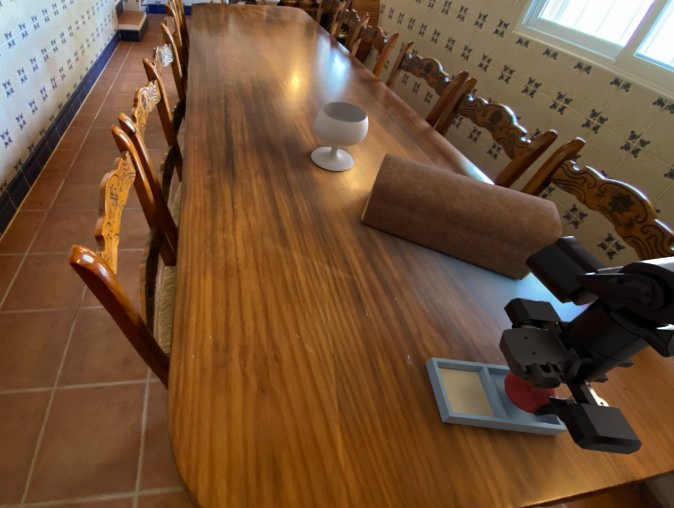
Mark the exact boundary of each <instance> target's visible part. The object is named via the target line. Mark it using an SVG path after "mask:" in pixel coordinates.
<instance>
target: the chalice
mask: <svg viewBox="0 0 674 508" xmlns="http://www.w3.org/2000/svg"><path fill="white" fill-rule="evenodd" d="M313 125H314V132H315V133H316V134H317V136H318V137H319V138H320V139H321V140H322V141H324V142H326V143H327V144H330V146H322V147H318V148H315V149H314V150H313V151H312V152H311V155H310V158H311V160H312V162H314V164H315V165H317V166H318V167H320V168H322V169H325V170H328V171H332V172H344V171H348V170H350V169H351V168H353V166H354V163H355V161H354V158H353V156H352V155H350V154H349V153H348V152H347V151H345V150H343V149H340V148H341V147H352V146H355V145H358V144H359V143H361V142H362V141H364V139H365V138H366V137H367V134H368V130H369V118H368V114H367V112H366V110H364V108H361V107H360V106H358V105H355V104H353V103H350V102H349V103H348V102H344V101H333V102H328V103H326V104H324V105H323V106H322V107H321V108H320V109H319V110H318V113H317V115H316V116H315V120H314V124H313Z"/></svg>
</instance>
